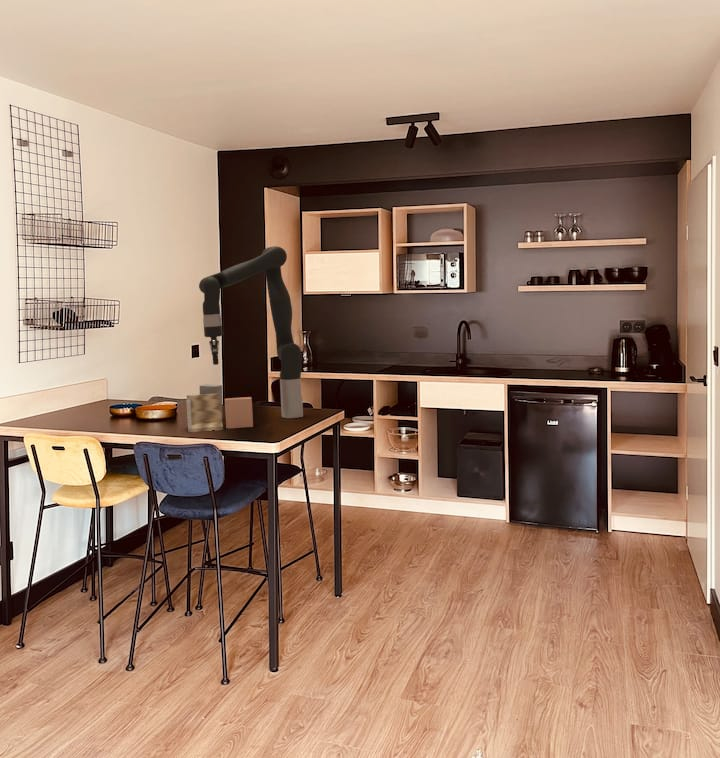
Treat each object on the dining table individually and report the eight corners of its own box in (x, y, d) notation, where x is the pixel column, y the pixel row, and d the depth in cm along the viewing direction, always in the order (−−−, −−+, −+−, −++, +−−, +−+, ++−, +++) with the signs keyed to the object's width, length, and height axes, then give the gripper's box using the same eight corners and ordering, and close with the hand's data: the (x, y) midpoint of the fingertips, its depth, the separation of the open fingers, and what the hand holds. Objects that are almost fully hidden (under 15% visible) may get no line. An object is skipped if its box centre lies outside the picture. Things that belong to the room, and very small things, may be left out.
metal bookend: (192, 423, 315) (190, 397, 313) (191, 428, 304) (190, 401, 302) (188, 423, 314) (186, 398, 313) (188, 428, 303) (186, 402, 302)
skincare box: (199, 421, 329) (197, 385, 327) (207, 418, 335) (205, 383, 333) (216, 421, 326) (214, 385, 324) (224, 418, 333) (222, 383, 331)
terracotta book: (252, 424, 316) (250, 396, 314) (253, 426, 312) (251, 398, 310) (226, 426, 314) (224, 398, 312) (226, 428, 309) (224, 400, 308)
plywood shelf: (222, 424, 319) (220, 393, 317) (223, 429, 306) (221, 397, 305) (188, 426, 316) (186, 395, 314) (188, 432, 303) (186, 399, 302)
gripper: (221, 325, 305) (225, 364, 307) (221, 323, 319) (224, 361, 321) (203, 326, 304) (206, 366, 306) (203, 324, 318) (207, 362, 320)
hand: (215, 363), depth 314 cm, fingers open, 8 cm apart
